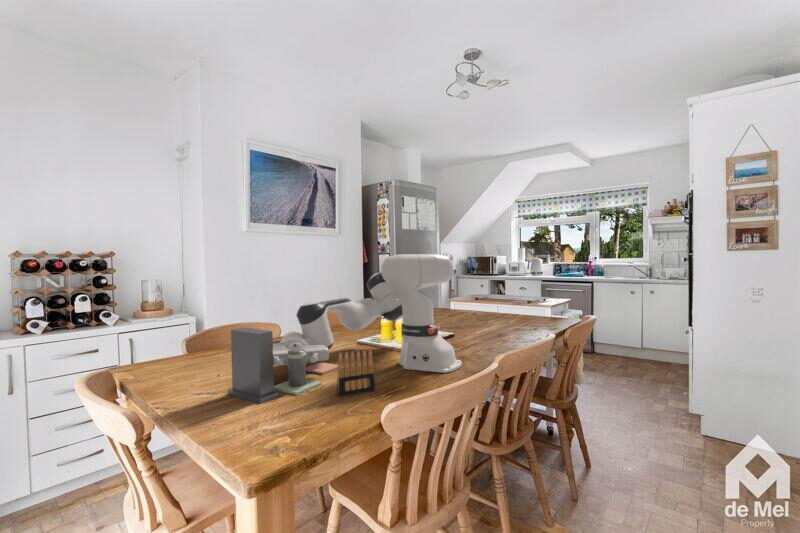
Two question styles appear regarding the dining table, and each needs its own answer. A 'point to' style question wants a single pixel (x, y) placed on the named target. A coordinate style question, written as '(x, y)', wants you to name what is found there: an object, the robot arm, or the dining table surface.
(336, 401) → the dining table surface
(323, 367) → the terracotta pad
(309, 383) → the sage green pad
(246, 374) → the block
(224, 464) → the dining table surface
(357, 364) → the ammunition clip
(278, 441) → the dining table surface
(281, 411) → the dining table surface
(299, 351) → the cartridge
